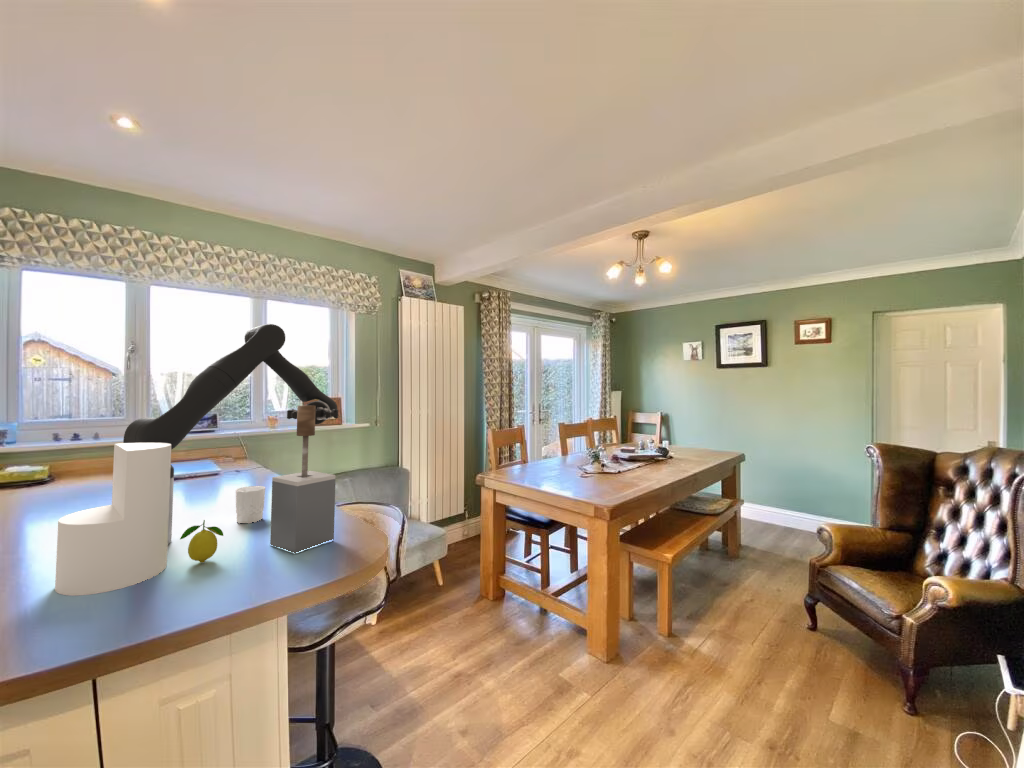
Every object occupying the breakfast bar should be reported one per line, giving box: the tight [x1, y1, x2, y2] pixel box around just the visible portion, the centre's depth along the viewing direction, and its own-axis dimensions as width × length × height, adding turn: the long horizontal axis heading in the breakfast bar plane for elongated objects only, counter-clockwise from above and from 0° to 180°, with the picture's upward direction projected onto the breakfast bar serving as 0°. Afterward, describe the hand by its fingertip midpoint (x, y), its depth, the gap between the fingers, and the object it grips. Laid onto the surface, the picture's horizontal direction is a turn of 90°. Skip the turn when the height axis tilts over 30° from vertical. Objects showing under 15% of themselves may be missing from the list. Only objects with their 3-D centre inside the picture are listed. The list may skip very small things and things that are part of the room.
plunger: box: [296, 404, 316, 478], centre depth 110 cm, size 8×8×27 cm
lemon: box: [179, 519, 224, 564], centre depth 96 cm, size 7×6×10 cm
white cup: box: [235, 485, 266, 524], centre depth 128 cm, size 8×8×10 cm
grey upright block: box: [269, 470, 337, 553], centre depth 109 cm, size 11×11×18 cm
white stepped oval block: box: [54, 442, 172, 597], centre depth 89 cm, size 17×17×28 cm
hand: (311, 415), depth 120 cm, fingers open, 8 cm apart
